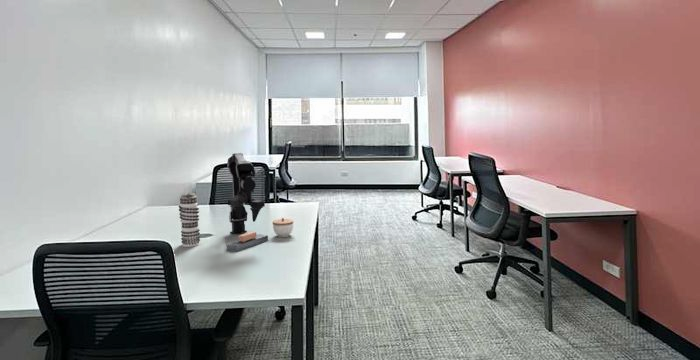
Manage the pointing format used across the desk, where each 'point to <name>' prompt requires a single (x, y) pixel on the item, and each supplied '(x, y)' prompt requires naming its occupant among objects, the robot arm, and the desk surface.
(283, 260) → the desk surface
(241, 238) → the peach rectangular block
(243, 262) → the desk surface
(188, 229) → the ribbed stacked tower
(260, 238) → the rail
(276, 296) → the desk surface
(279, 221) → the lidded jar
